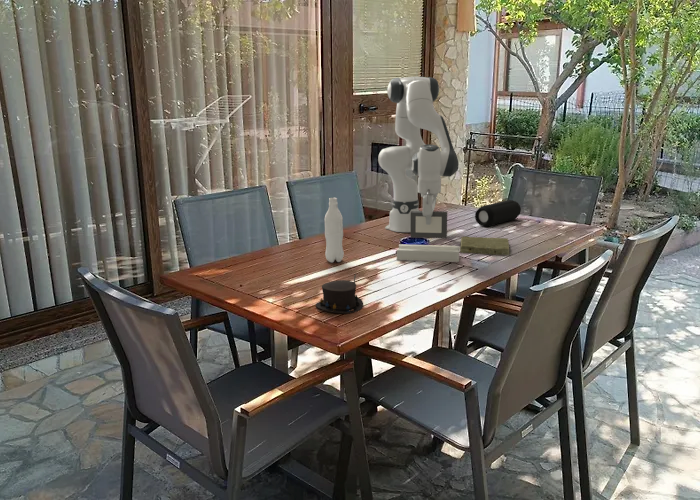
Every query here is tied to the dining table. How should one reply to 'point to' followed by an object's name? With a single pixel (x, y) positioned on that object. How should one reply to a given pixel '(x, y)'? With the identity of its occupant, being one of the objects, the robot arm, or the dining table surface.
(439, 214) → the picture frame
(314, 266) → the dining table surface
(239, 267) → the dining table surface
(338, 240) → the water bottle
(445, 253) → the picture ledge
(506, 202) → the portable speaker
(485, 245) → the decorative tile
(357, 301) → the top hat
